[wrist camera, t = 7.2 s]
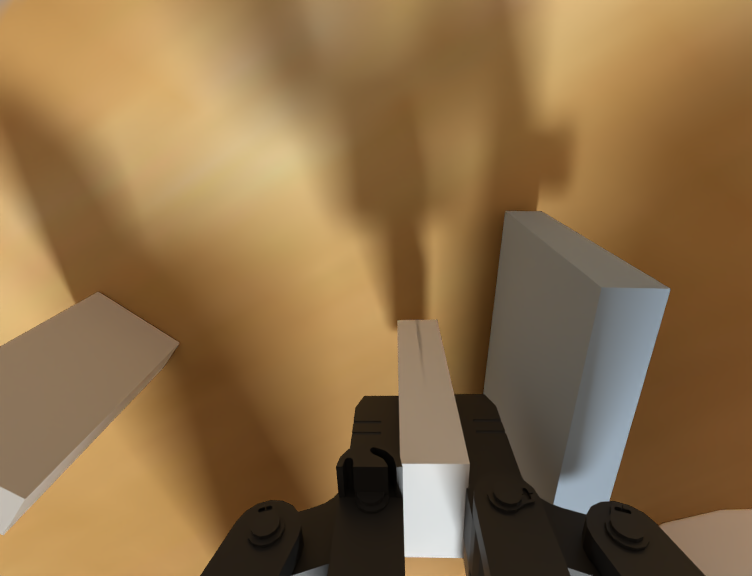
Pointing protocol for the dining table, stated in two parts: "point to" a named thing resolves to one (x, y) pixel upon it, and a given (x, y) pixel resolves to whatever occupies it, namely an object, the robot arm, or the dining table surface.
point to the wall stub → (68, 392)
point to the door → (568, 356)
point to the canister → (716, 541)
